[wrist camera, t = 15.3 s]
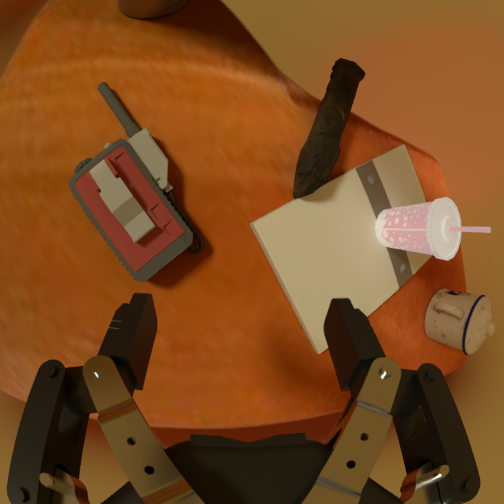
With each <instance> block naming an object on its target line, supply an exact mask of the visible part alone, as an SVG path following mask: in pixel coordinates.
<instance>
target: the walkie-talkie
mask: <svg viewBox="0 0 504 504" xmlns="http://www.w3.org/2000/svg"><path fill="white" fill-rule="evenodd" d="M98 90H99V91H100V93H101V94H102V96H103V97H104V99H105V100H106V102H107V103H108V105H109V106H110V108H111V109H112V111H113V112H114V114H115V115H116V117H117V118H118V120H119V121H120V122H121V124H122V125H123V127H124V128H125V130H126V131H125V132H126V134H127V135H128V136H129V138H130V139H129V140H127V141H126V140H124V139H119V140H118V141H116V142H114V143H111V142H109V143H107V144H106V145H105V146H104V148H105V150H103V151H102V152H101V153H100V154H98V155H97V156H96V157H95V158H93V159H91V158H87V159H85V160H83V161H81V162H80V163H79V164H78V165H77V166H76V168H75V171H74V173H75V175H74V176H73V177H72V178H71V179H70V181H69V187H70V189H71V190H72V193H73V195H74V196H75V198H76V200H78V202H79V203H80V205H81V206H82V208H83V211H84V212H85V214H86V215H87V217H88V218H89V219H90V220H91V222H92V223H93V225H95V226H96V227H97V230H99V232H100V235H102V236H103V237H104V240H106V241H107V244H108V245H109V246H110V247H111V250H113V251H114V252H115V255H117V256H118V258H119V261H120V260H121V262H122V263H123V264H122V265H123V266H125V267H126V268H127V269H126V270H127V271H129V272H130V273H131V274H130V275H131V276H133V277H134V278H135V279H134V280H136V281H141V282H146V281H147V280H148V279H149V278H151V277H152V276H153V275H154V274H155V273H157V272H158V271H159V270H160V269H161V268H163V267H164V266H165V265H166V264H168V263H169V262H170V261H171V260H173V259H174V258H175V257H176V256H177V255H179V254H180V253H181V252H182V251H184V250H185V249H187V250H188V251H189V252H190V253H192V254H198V253H200V252H202V250H203V249H204V242H203V239H202V237H201V236H200V235H199V234H198V232H197V231H196V230H195V228H194V227H193V226H192V224H191V223H190V222H189V220H188V219H187V218H186V216H185V215H184V214H183V212H182V211H181V210H180V208H179V207H178V205H177V204H176V202H175V200H174V194H173V192H172V190H173V188H172V186H171V185H170V184H169V182H168V159H167V158H166V156H165V155H164V153H163V152H162V151H161V149H160V148H159V147H158V145H157V144H156V142H155V141H154V140H153V138H152V137H151V133H150V131H149V130H148V129H147V128H144V129H143V130H141V129H140V127H139V126H138V125H137V124H136V123H134V122H133V120H132V119H131V117H130V116H129V115H128V113H127V112H126V110H125V109H124V108H123V106H122V105H121V103H120V102H119V100H118V99H117V98H116V96H115V95H114V93H113V92H112V91H111V89H110V88H109V86H108V85H107V83H105V82H102V83H100V84H99V85H98ZM164 192H166V194H169V196H170V201H168V200H167V197H166V196H164V194H163V193H164ZM171 204H172V205H171ZM175 210H176V211H175ZM178 214H179V215H178ZM183 221H184V222H183ZM186 225H187V226H188V227H187V226H186ZM189 229H190V230H191V231H190V230H189ZM193 234H194V236H195V237H196V238H197V240H198V241H199V248H198V249H196V250H193V249H192V248H191V247H190V245H191V244H192V240H193Z"/></svg>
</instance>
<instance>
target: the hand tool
mask: <svg viewBox="0 0 504 504" xmlns="http://www.w3.org/2000/svg"><path fill="white" fill-rule="evenodd" d="M332 70H333V72H332V73H331V76H330V78H331V80H330V82H329V84H328V86H327V89H326V91H327V92H326V94H325V96H324V98H323V100H322V102H321V104H320V108H319V111H318V114H317V116H316V119H315V121H314V124H313V126H312V129H311V132H310V134H309V136H308V139H307V141H306V143H305V145H304V146H303V148H302V149H301V151H300V154H299V158H298V162H297V167H296V173H295V180H294V191H293V197H294V198H301V197H304V196H308V195H310V194H313V193H314V192H315V191H316V190H317V189H319V188H320V187H321V186H323V185H324V184H325V183H326V182H327V180H328V177H329V175H330V174H331V172H332V169H333V167H334V165H335V163H336V161H337V159H338V157H339V155H340V150H341V149H340V147H339V142H340V138H341V135H342V132H343V130H344V128H345V125H346V122H347V119H348V117H349V114H350V111H351V108H352V104H353V101H354V98H355V95H356V91H357V87H358V84H359V82H360V81H361V80H362V79H363V78H364V76H365V72H364V71H363V70H362V69H361V68H360V67H359V66H358V65H357V64H356V63H355V62H353V61H349V60H346V59H342V58H340V59H338V60H337V61H336V62H335V65H334V66H333V67H332Z"/></svg>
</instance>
